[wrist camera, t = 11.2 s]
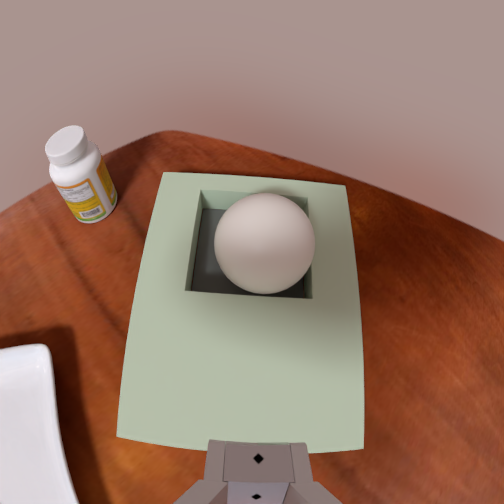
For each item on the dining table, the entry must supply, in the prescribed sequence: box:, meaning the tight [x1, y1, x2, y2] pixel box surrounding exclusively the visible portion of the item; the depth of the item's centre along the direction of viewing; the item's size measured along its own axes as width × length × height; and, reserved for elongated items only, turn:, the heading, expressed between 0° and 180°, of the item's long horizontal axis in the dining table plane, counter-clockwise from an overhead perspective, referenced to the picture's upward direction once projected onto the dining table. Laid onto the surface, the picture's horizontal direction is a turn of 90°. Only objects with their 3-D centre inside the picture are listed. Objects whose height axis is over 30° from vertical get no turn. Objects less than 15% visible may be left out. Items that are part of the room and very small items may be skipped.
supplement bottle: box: [45, 125, 117, 223], centre depth 27 cm, size 5×5×10 cm
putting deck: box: [117, 172, 364, 453], centre depth 26 cm, size 18×24×3 cm
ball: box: [214, 193, 315, 294], centre depth 26 cm, size 8×8×8 cm
